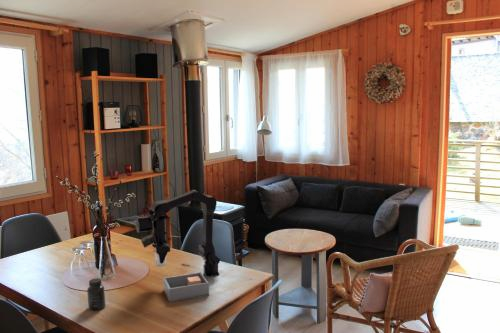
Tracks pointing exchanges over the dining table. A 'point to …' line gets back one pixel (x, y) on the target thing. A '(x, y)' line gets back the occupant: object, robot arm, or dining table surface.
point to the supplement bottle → (96, 295)
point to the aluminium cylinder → (157, 261)
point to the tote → (185, 287)
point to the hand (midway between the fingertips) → (160, 261)
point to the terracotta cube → (193, 280)
